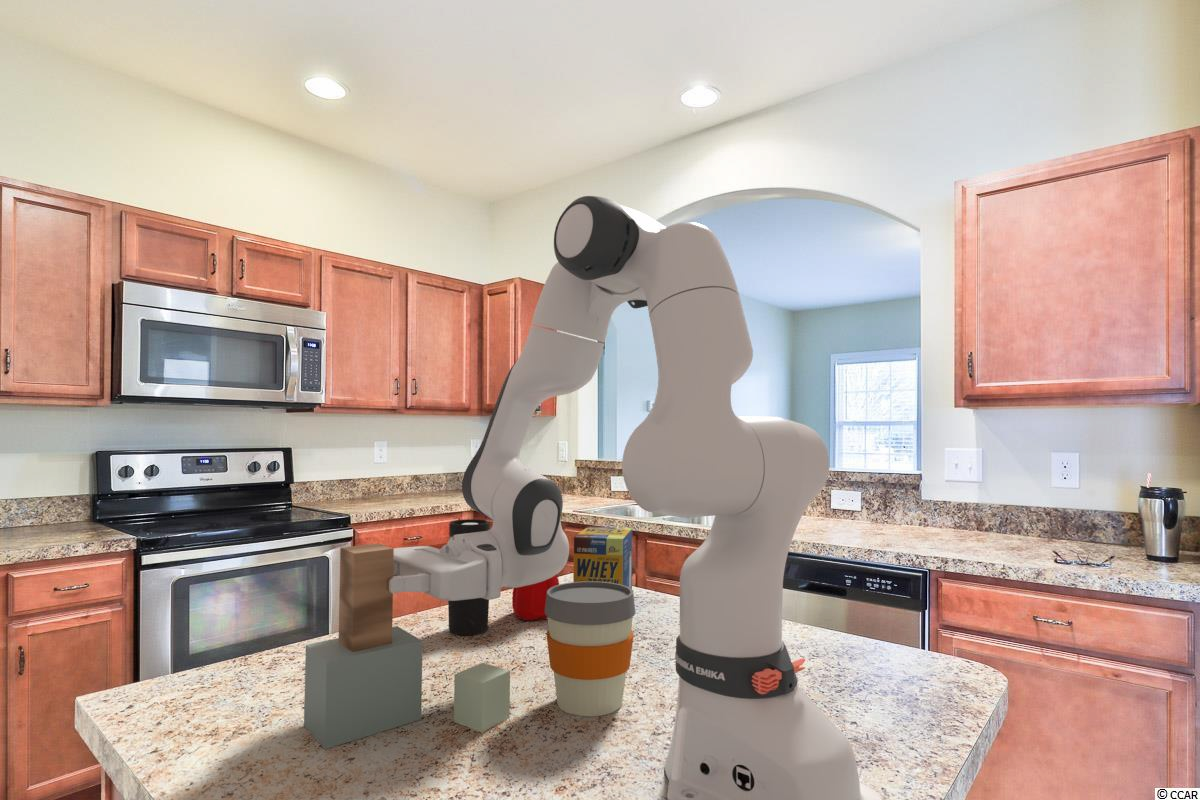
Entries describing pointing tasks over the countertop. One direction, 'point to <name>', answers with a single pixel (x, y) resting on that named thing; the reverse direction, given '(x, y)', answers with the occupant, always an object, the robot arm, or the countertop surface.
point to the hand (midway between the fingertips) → (373, 578)
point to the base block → (361, 688)
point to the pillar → (365, 596)
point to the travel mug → (471, 612)
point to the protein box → (603, 555)
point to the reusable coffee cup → (589, 644)
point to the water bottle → (532, 599)
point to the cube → (481, 696)
